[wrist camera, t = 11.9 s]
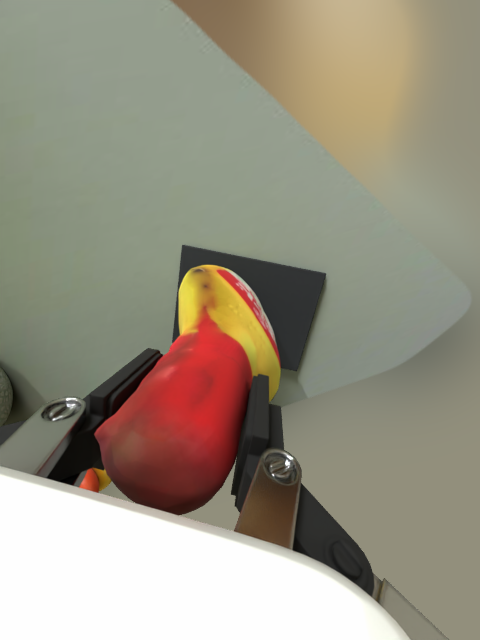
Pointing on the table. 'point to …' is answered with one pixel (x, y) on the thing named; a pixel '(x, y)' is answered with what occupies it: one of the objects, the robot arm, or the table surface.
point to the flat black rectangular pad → (267, 296)
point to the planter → (5, 396)
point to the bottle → (193, 397)
